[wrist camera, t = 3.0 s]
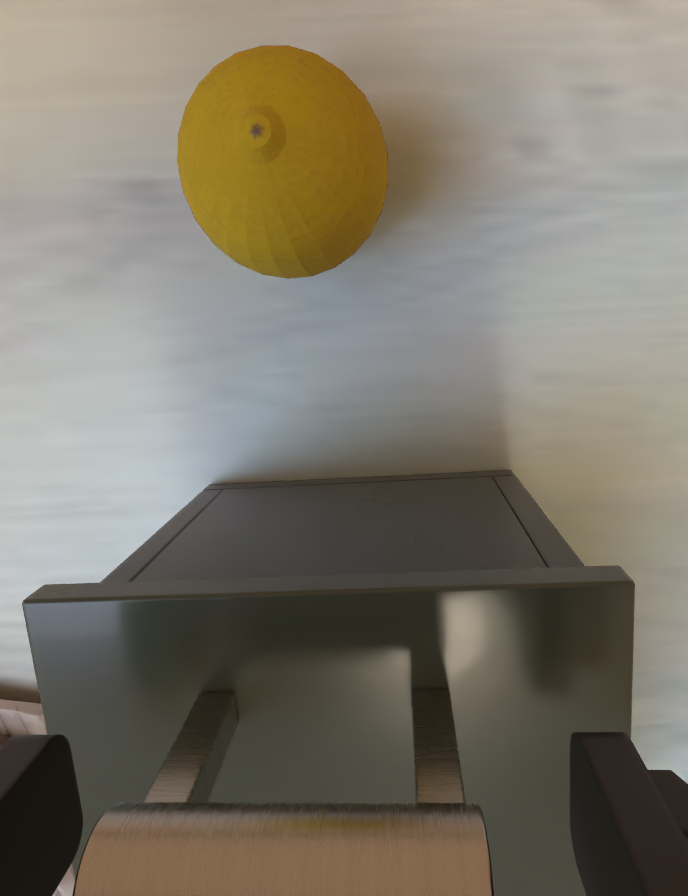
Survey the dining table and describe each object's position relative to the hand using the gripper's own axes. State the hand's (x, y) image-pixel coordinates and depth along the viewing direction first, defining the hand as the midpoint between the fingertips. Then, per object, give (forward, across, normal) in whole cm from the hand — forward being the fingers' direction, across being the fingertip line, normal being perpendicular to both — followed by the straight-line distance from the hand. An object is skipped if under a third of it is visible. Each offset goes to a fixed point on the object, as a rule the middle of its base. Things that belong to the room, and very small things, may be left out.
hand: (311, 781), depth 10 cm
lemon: (+14, +1, -11) cm, 18 cm away
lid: (+3, 0, +5) cm, 6 cm away
